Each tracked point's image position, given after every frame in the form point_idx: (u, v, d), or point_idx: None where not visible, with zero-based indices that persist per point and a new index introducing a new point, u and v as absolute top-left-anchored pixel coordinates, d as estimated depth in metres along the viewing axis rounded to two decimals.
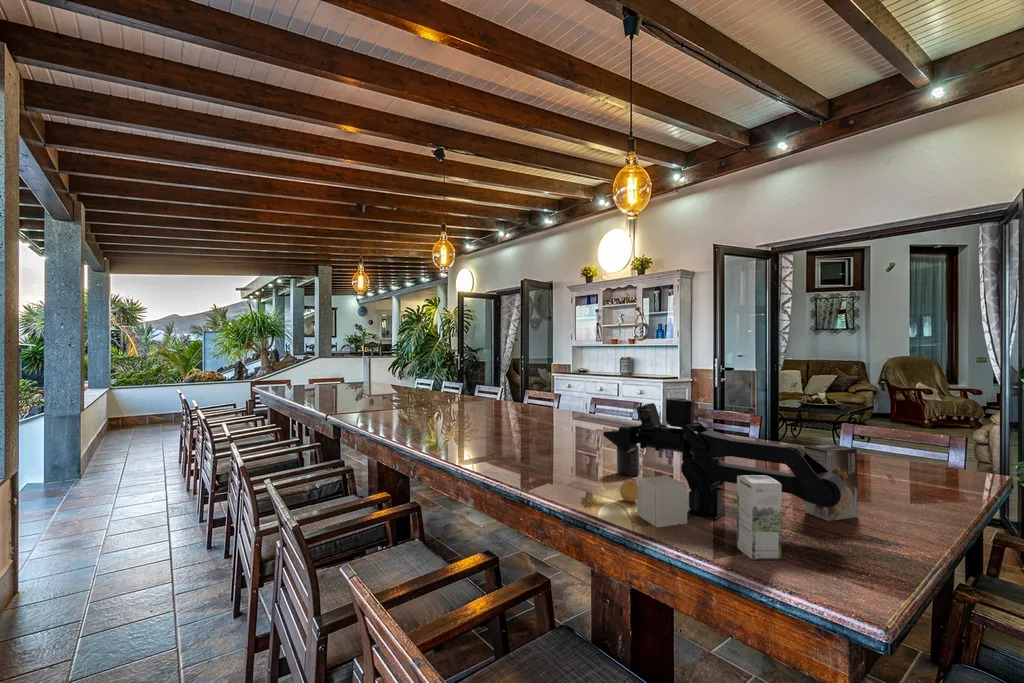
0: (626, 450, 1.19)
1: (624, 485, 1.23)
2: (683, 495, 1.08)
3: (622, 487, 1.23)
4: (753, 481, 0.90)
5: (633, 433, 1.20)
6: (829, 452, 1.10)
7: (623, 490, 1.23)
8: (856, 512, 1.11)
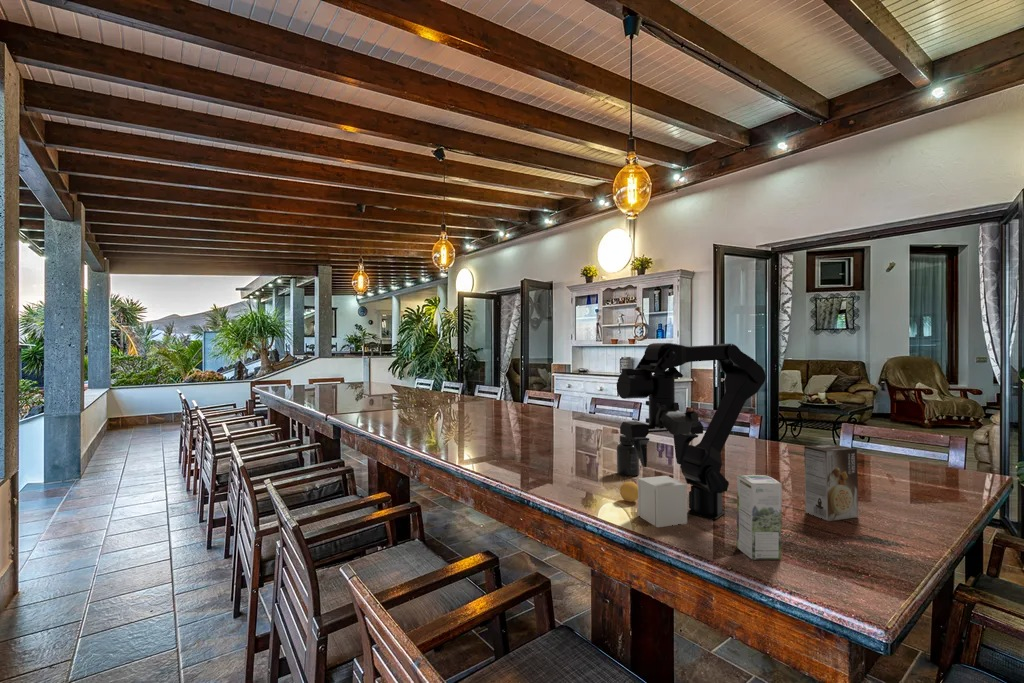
0: None
1: (624, 485, 1.23)
2: (683, 495, 1.08)
3: (622, 487, 1.23)
4: (753, 481, 0.90)
5: None
6: (829, 452, 1.10)
7: (623, 490, 1.23)
8: (856, 512, 1.11)
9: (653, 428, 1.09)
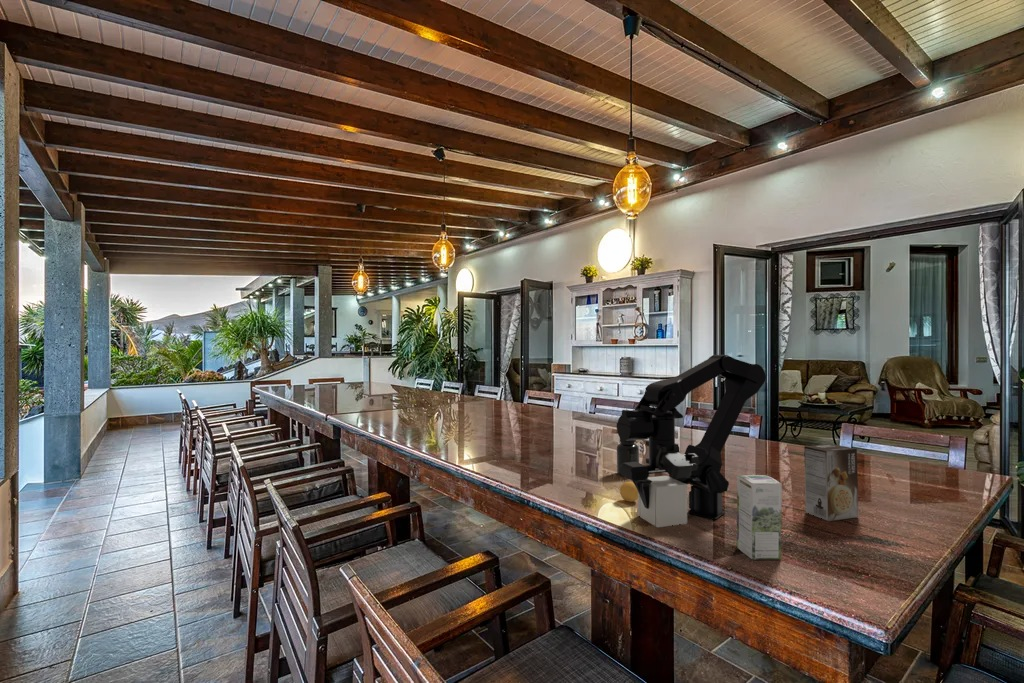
0: None
1: (624, 485, 1.23)
2: (683, 495, 1.08)
3: (622, 487, 1.23)
4: (753, 481, 0.90)
5: None
6: (829, 452, 1.10)
7: (623, 490, 1.23)
8: (856, 512, 1.11)
9: (655, 469, 1.09)
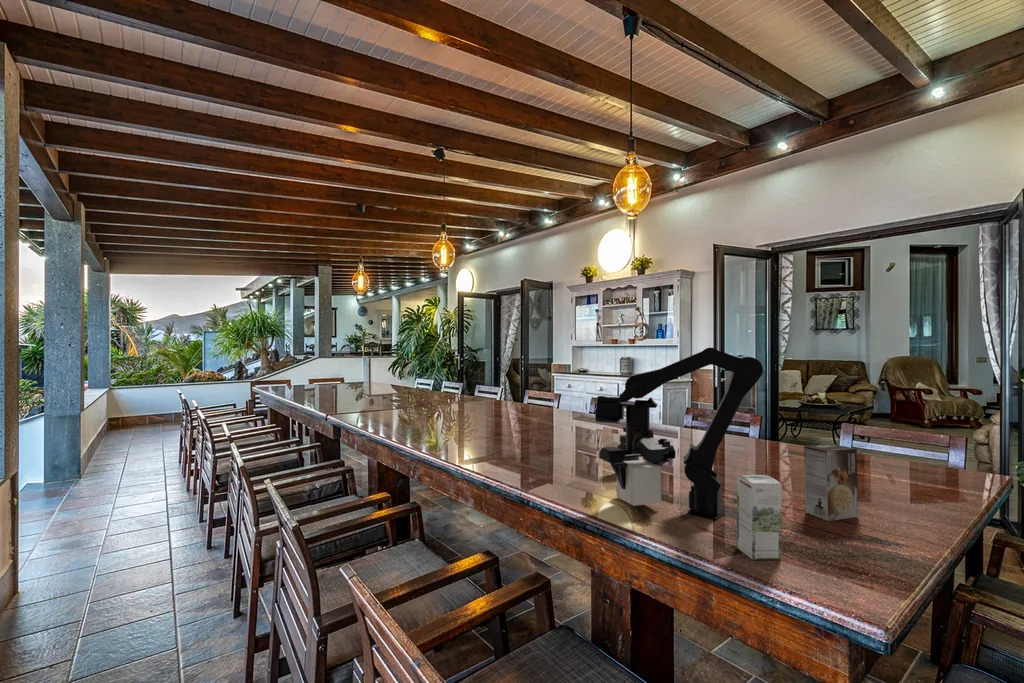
0: None
1: None
2: (657, 476, 1.17)
3: None
4: (753, 481, 0.90)
5: None
6: (829, 452, 1.10)
7: None
8: (856, 512, 1.11)
9: None
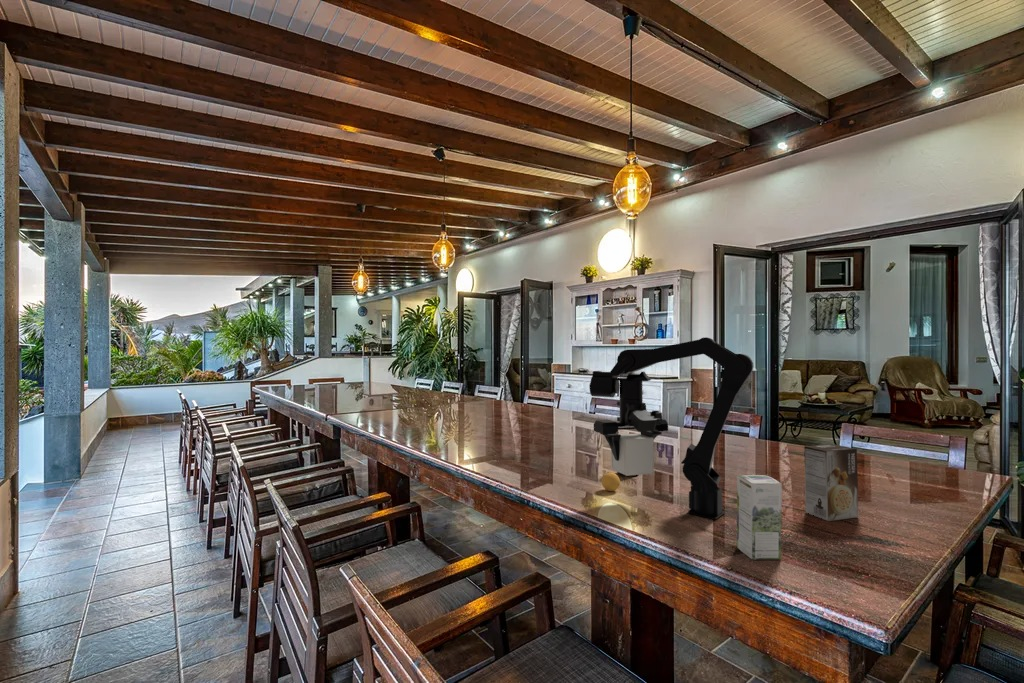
0: None
1: (607, 488, 1.32)
2: (650, 447, 1.20)
3: (605, 486, 1.32)
4: (753, 481, 0.90)
5: None
6: (829, 452, 1.10)
7: (603, 485, 1.32)
8: (856, 512, 1.11)
9: (625, 426, 1.22)
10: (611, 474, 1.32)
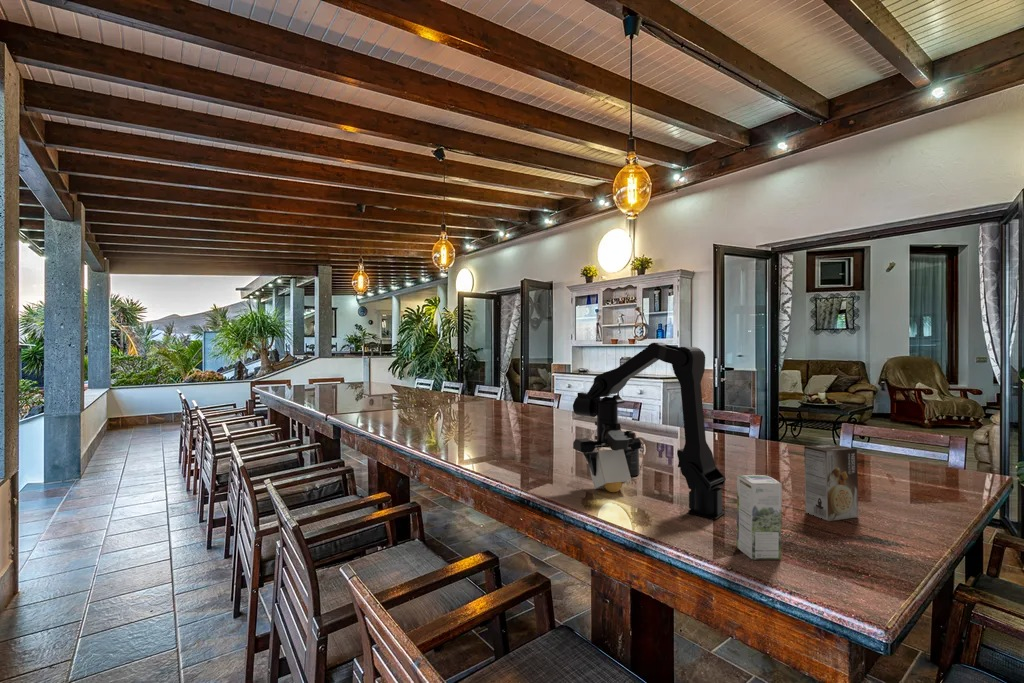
0: None
1: None
2: (622, 457, 1.33)
3: (606, 488, 1.31)
4: (753, 481, 0.90)
5: None
6: (829, 452, 1.10)
7: (604, 486, 1.32)
8: (856, 512, 1.11)
9: (601, 444, 1.34)
10: None
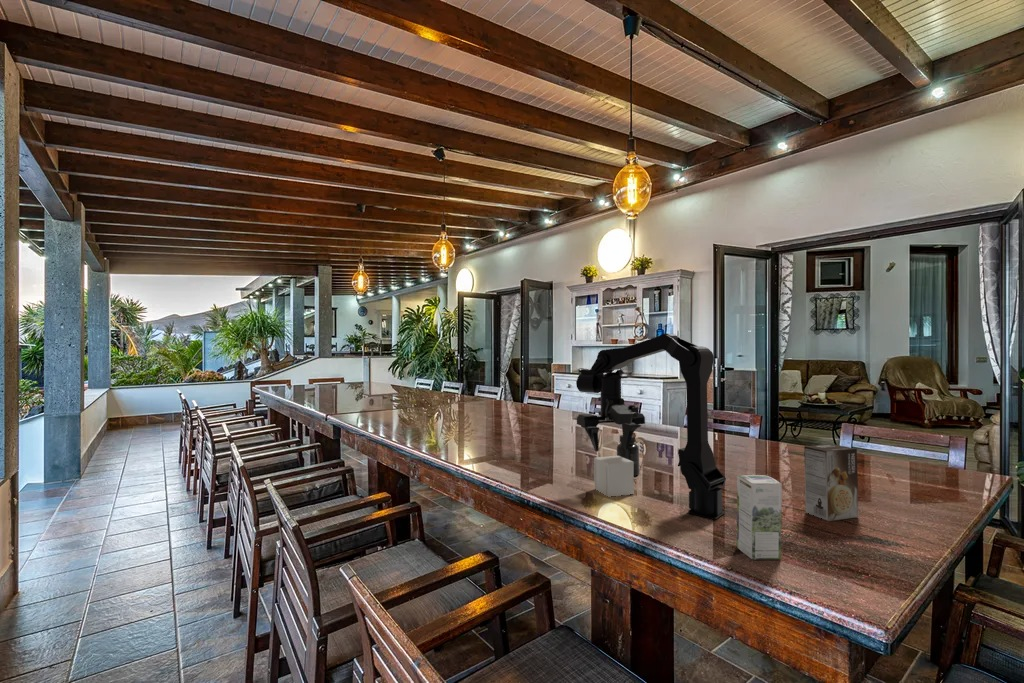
0: None
1: None
2: (630, 471, 1.29)
3: None
4: (753, 481, 0.90)
5: None
6: (829, 452, 1.10)
7: None
8: (856, 512, 1.11)
9: (603, 419, 1.33)
10: None
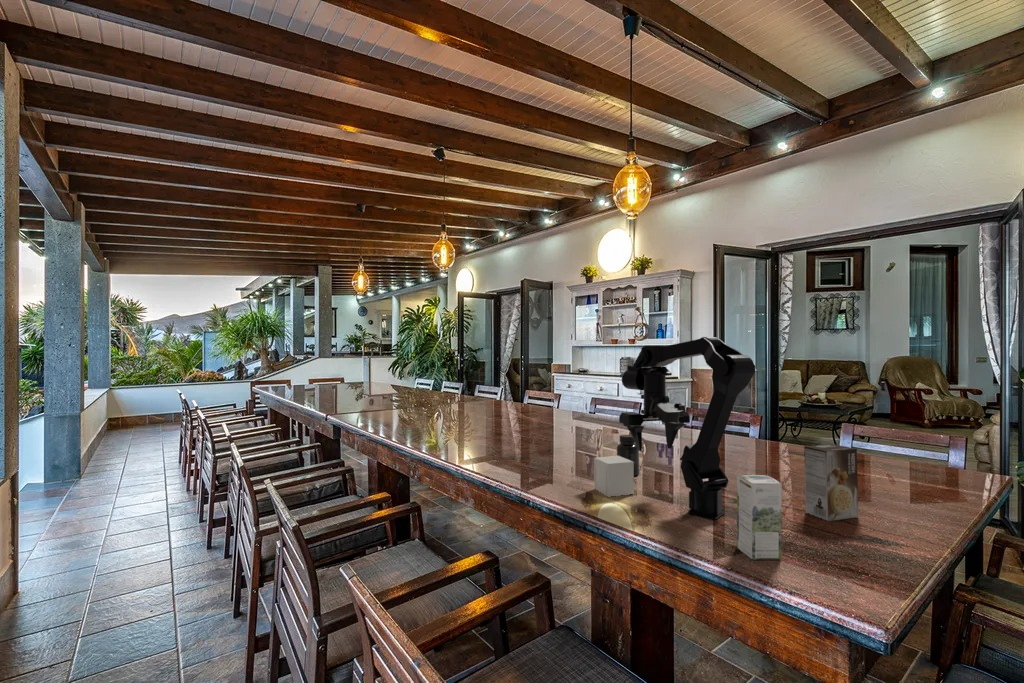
0: None
1: None
2: (630, 471, 1.29)
3: None
4: (753, 481, 0.90)
5: None
6: (829, 452, 1.10)
7: None
8: (856, 512, 1.11)
9: (647, 418, 1.28)
10: None
